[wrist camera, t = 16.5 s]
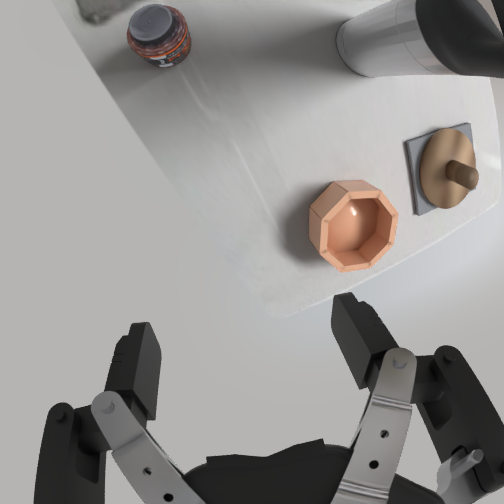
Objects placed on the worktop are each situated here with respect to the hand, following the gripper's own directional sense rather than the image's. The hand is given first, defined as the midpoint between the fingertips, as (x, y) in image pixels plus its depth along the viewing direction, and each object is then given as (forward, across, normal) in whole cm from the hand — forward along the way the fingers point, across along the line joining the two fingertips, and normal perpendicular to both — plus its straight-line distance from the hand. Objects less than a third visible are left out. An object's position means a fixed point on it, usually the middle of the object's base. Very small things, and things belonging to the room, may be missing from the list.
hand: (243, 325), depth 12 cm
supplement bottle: (+28, +5, -18) cm, 33 cm away
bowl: (+28, -18, +9) cm, 34 cm away
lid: (+27, -37, +1) cm, 46 cm away
